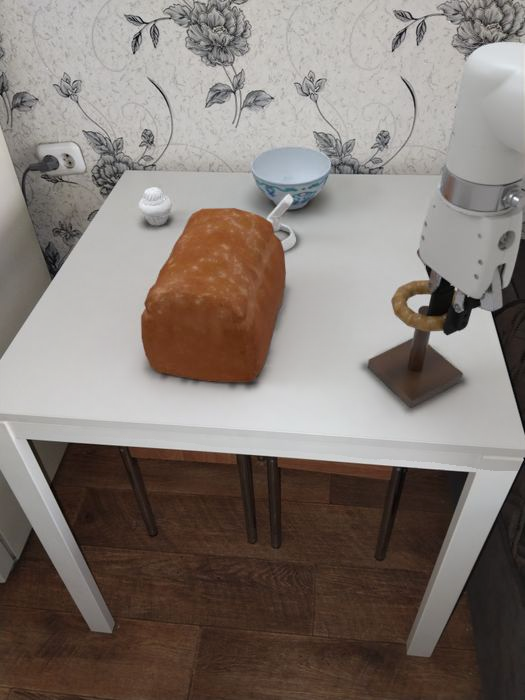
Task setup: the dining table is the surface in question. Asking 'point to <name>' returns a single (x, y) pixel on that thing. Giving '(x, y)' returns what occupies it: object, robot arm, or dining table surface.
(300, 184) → the chinaware
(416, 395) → the stand
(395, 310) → the ring
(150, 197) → the muffin
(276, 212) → the hook
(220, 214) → the bread
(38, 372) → the dining table surface
